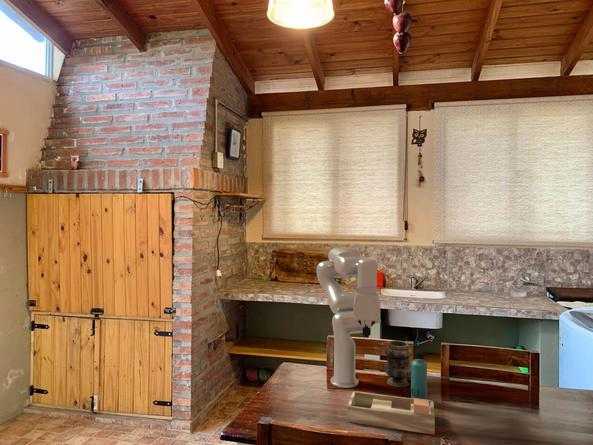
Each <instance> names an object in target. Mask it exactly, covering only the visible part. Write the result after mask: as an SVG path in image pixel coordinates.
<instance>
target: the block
mask: <svg viewBox="0 0 593 445" xmlns="http://www.w3.org/2000/svg"><path fill="white" fill-rule="evenodd" d="M429 400H430V399H426V400H423V399H416V398H414V414H421V415H428V416H429Z"/></svg>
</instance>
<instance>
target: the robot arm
mask: <svg viewBox="0 0 593 445" xmlns="http://www.w3.org/2000/svg"><path fill="white" fill-rule="evenodd" d="M327 257H328V260H326V261H325V260H323V261H321V262H319V263H318V264H317V266H316V277H317V280H318V283H319V284H320V287H321V288H322V289H323V291H324V293H325V296H326V298H327V302H328V305H329V308H330V310H331V313H333V314H334V315H333V316H332V318H331V322H332V323H331V324H332V331H333V376H332V377H331V378H330V384H332V385H333V386H335V387H337V388H341V389H342V388H345V389H348V388H349V389H351V388H354V387H355V388H356V387H357V386H358V385H359V379H358V378H357V377H356V342H355V341H354V338H353V337H352V336H351V335H352V334H360V333H361V334H362V336H363V338H364V339H369V337H370V336H371V335H372V334H371V332H372V327H373V326H374V325H375V324H377V325H378V324H380V323H381V305H380V297H379V296H380V295H379V294H378V290H377V289H378V286H377V285H378V283H377V282H378V281H377V280H378V276H377V275H378V264H377V263H378V262H377V261H376V260H375V259H373V258H370V257H368V256H360V252H359V250H358V249H357V248H356V247H352V246H351V247H350V246H349V247H348V246H347V247H343V246H341V247H334V248H331V249H330V250H329V252H328V256H327ZM351 276H357V284H356V286H354V287H353V291H355V292H351V293H348V292H344V289H343V286H342V285H341V284H340V283H339V282H338V281H337V280H335V279H337V278H338V279H339V278H349V277H351Z"/></svg>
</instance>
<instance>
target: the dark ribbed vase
mask: <svg viewBox="0 0 593 445" xmlns="http://www.w3.org/2000/svg"><path fill="white" fill-rule="evenodd" d="M384 353H385V355H387V358H386V359H387V362H386V364H385V366H384V367H383V368H384V369H383V371H384V372H385V374H386V375H387V376H389V378H388V379H386V383H387V384H388V385H390V386H392V387H395V388H404V387H405V388H406V387H408V386H409V385H410V383H409V380H407V378H409V377H411V367H410V358H411V357H412V354H413V353H412V349H411V348H410V346H409V344H408V342H406V341H403V340H390V341H389V342H388V345H387V346H386V347H385V348H384Z"/></svg>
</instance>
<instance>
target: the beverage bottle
mask: <svg viewBox="0 0 593 445" xmlns="http://www.w3.org/2000/svg"><path fill="white" fill-rule="evenodd" d="M413 358H414V359H412V360H411V363H410V364H411V367H410V368H411V375H410V379H411V380H410V381H411V382H410V398H418V399H426V400H428V399H427V398H428V363H427V361H425V360H424V359H425V352H423V351H420V350H419V351H416V350H415V351H414V354H413Z"/></svg>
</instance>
